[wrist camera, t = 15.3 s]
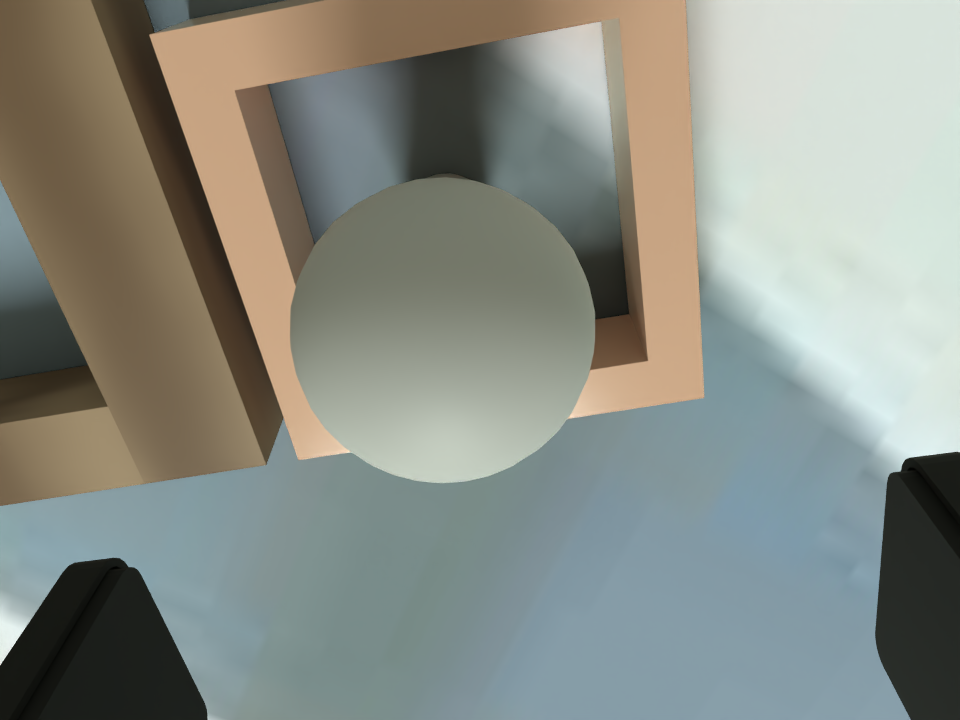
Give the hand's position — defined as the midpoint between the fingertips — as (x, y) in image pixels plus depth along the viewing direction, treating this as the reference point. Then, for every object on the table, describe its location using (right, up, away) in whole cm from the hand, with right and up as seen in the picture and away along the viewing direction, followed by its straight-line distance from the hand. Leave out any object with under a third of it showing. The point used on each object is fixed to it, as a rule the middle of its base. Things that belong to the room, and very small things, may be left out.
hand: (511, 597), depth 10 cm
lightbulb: (-1, +7, +13) cm, 15 cm away
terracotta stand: (-1, +8, +13) cm, 15 cm away
